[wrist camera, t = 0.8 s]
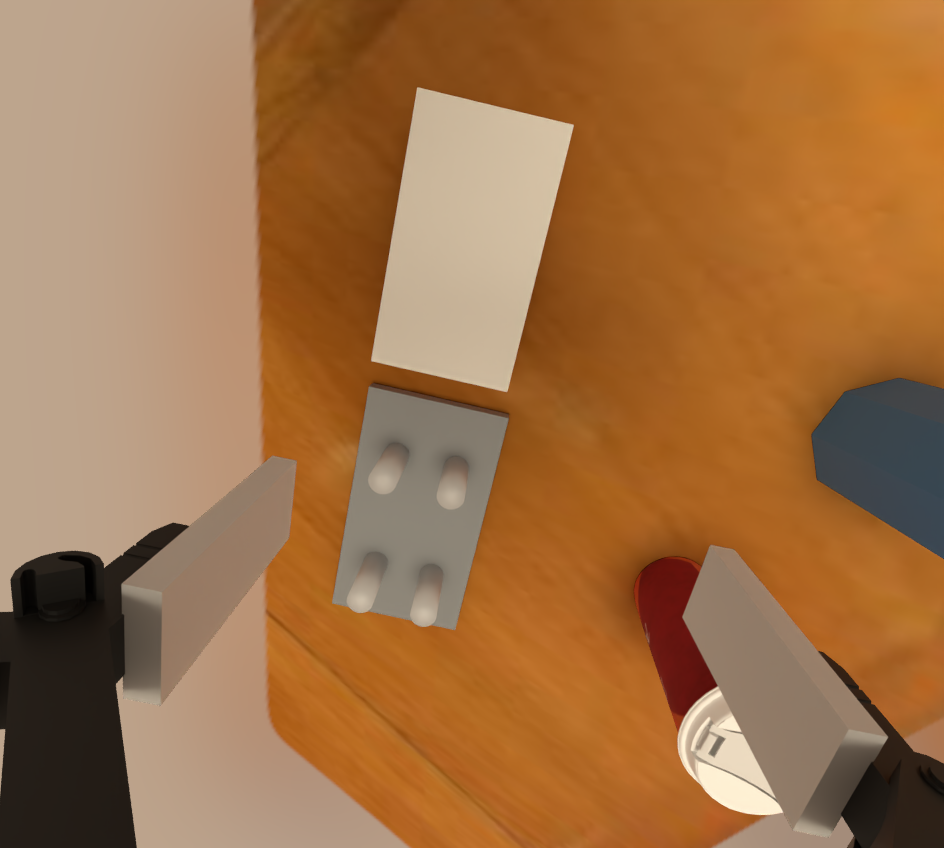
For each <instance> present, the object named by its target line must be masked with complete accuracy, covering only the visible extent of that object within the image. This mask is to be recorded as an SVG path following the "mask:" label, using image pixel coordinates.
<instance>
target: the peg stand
mask: <svg viewBox="0 0 944 848" xmlns="http://www.w3.org/2000/svg"><path fill="white" fill-rule="evenodd" d="M508 420H509V415H508V414H506V413H502V412H498V411H493V410H489V409H485V408H480V407H476V406H471V405H467V404H463V403H458V402H454V401H450V400H445V399H441V398H436V397H432V396H428V395H423V394H419V393H414V392H410V391H406V390H401V389H397V388H393V387H388V386H384V385H379V384H375V383H373V384H371V385H370V386H369V390H368V396H367V402H366V408H365V414H364V419H363V425H362V431H361V437H360V443H359V449H358V455H357V460H356V466H355V472H354V478H353V484H352V490H351V496H350V501H349V507H348V513H347V519H346V525H345V531H344V537H343V542H342V548H341V554H340V560H339V566H338V572H337V578H336V584H335V589H334V595H333V601H332V603H333V604H338V605H343V606H347V607H349V608H350V609H351V610H353V611H355V612H358V613H364V612H367V611H370V612H375V613H379V614H384V615H388V616H393V617H398V618H402V619H407V620H411V621H413V622H414V623H415V624H416V625H418V626H422V627H426V626H430V625H434V626H439V627H443V628H448V629H453V630H455V628H456V624H457V620H458V616H459V613H460V609H461V605H462V601H463V597H464V593H465V589H466V585H467V581H468V577H469V573H470V569H471V565H472V561H473V557H474V554H475V550H476V546H477V542H478V538H479V534H480V530H481V526H482V522H483V518H484V514H485V510H486V506H487V502H488V499H489V495H490V491H491V487H492V483H493V479H494V475H495V471H496V467H497V463H498V459H499V455H500V451H501V447H502V443H503V440H504V436H505V432H506V428H507V424H508Z"/></svg>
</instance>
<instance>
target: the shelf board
mask: <svg viewBox="0 0 944 848" xmlns="http://www.w3.org/2000/svg"><path fill="white" fill-rule="evenodd" d="M573 127H574V125H572V124H568V123H564V122H559V121H555V120H551V119H547V118H543V117H539V116H535V115H530V114H526V113H522V112H518V111H514V110H510V109H506V108H501V107H497V106H493V105H489V104H485V103H481V102H476V101H472V100H468V99H464V98H460V97H456V96H452V95H447V94H443V93H439V92H435V91H431V90H427V89H423V88H418V87H417V92H416V98H415V104H414V110H413V116H412V122H411V128H410V134H409V140H408V145H407V151H406V157H405V163H404V169H403V175H402V181H401V187H400V193H399V199H398V205H397V210H396V216H395V222H394V228H393V234H392V240H391V246H390V252H389V258H388V264H387V270H386V275H385V281H384V287H383V293H382V299H381V305H380V311H379V317H378V323H377V329H376V335H375V340H374V346H373V352H372V358H371V361H373V362H378V363H382V364H386V365H391V366H395V367H399V368H404V369H408V370H413V371H417V372H421V373H426V374H430V375H434V376H439V377H443V378H448V379H452V380H456V381H461V382H465V383H469V384H474V385H478V386H482V387H487V388H491V389H496V390H500V391H504V392H507V391H508V387H509V383H510V379H511V375H512V371H513V367H514V363H515V359H516V355H517V351H518V347H519V343H520V339H521V335H522V331H523V327H524V323H525V319H526V315H527V311H528V307H529V303H530V299H531V295H532V291H533V287H534V283H535V279H536V275H537V271H538V267H539V263H540V259H541V255H542V251H543V247H544V243H545V239H546V235H547V231H548V227H549V223H550V219H551V215H552V211H553V207H554V203H555V199H556V195H557V191H558V187H559V183H560V179H561V175H562V171H563V167H564V163H565V159H566V155H567V151H568V147H569V143H570V139H571V135H572V131H573Z"/></svg>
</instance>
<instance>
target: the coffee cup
mask: <svg viewBox="0 0 944 848" xmlns="http://www.w3.org/2000/svg"><path fill="white" fill-rule="evenodd" d="M701 568H702V567H701V566H700V565H698V564H697V563H696V562H694V561H692V560H690V559H687V558H683V557H667V558H662V559H659V560H657V561H655V562H653V563H651V564H649V565H648V566H647V567H646V568H645V569H644V570H643V571H642V572H641V573H640V574H639V576H638V578H637V580H636V582H635V586H634V598H635V602H636V606H637V610H638V613H639V616H640V619H641V622H642V626H643V629H644V632H645V635H646V638H647V641H648V644H649V647H650V650H651V653H652V656H653V659H654V662H655V665H656V668H657V671H658V674H659V677H660V680H661V683H662V686H663V689H664V692H665V695H666V698H667V701H668V704H669V707H670V710H671V713H672V716H673V719H674V722H675V725H676V728H677V731H678V751H679V756H680V758H681V761H682V763H683V765H684V767H685V768H686V770H687V771H688V773H689V774H690V775H691V776H692V777H693V778H694V779H695V780H696V781H697V782H698V783H700V784H701V786H702V787H703V789H704V790H705V791H706V792H707V793H708V794H709V795H710V796H711V797H712V798H713V799H715V800H716V801H718V802H719V803H720V804H722V805H724V806H726V807H728V808H730V809H733V810H736V811H738V812H743V813H747V814H757V815H769V814H777V813H783V811H782V809H781V807H780V805H779V803H778V801H777V799H776V797H775V795H774V794H773V792H772V790H771V788H770V786H769V784H768V782H767V780H766V778H765V776H764V774H763V772H762V770H761V768H760V766H759V765H758V763H757V761H756V759H755V757H754V755H753V753H752V751H751V749H750V747H749V745H748V743H747V741H746V739H745V737H744V736H743V734H742V732H741V730H740V728H739V726H738V724H737V722H736V720H735V718H734V716H733V714H732V712H731V710H730V708H729V707H728V705H727V703H726V701H725V699H724V697H723V695H722V693H721V691H720V689H719V687H718V685H717V683H716V681H715V679H714V678H713V676H712V674H711V672H710V670H709V668H708V666H707V664H706V662H705V660H704V658H703V656H702V654H701V652H700V650H699V649H698V647H697V645H696V643H695V641H694V639H693V637H692V635H691V633H690V631H689V629H688V627H687V625H686V623H685V621H684V620H683V618H682V617H683V614H684V611H685V609H686V606H687V604H688V601H689V599H690V596H691V593H692V591H693V588H694V586H695V583H696V581H697V578H698V575H699V573H700V570H701Z"/></svg>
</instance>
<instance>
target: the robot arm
mask: <svg viewBox="0 0 944 848" xmlns="http://www.w3.org/2000/svg"><path fill="white" fill-rule="evenodd" d="M296 464H297V461H296V460H291V459H286V458H281V457H276V456H272V457H270V458H269V459H268V460H267V461H266V462H265V463H263V464H262V465H261V466H260V467H259V468H257V469H256V470H255V471H254V472H253V473H252V474H250V475H249V476H248V477H247V478H246V479H245V480H243V481H242V482H241V483H240V484H239V485H237V486H236V487H235V488H234V489H233V490H232V491H230V492H229V493H228V494H227V495H226V496H225V497H223V498H222V499H221V500H220V501H219V502H217V503H216V504H215V505H214V506H213V507H211V508H210V509H209V510H208V511H207V512H206V513H204V514H203V515H202V516H201V517H200V518H199V519H197V520H196V521H195V522H194V523H193V524H191V525H190V526H187V525H182V524H176V523H171V524H169V525H166V526H164V527H161V528H159V529H157V530H154V531H152V532H151V533H149V534H148V535H147V536H145V537H144V538H143V539H141V540H140V541H139V542H137V543H136V546H134V545H133V546H132V547H131V548H130V549H128V550H127V551H126V552H124V554H123V556H119V557H118V558H117V559H115V560H114V561H113V562H111V563H110V564H109V565H108V566H106V567H105V568H104V563H103V562H102V561H101V559H100V557H98V556H96V555H94V554H92V553H89V552H81V551H66V552H56V553H52V554H48V555H44V556H40V557H38V558H36V559H34V560H31V561H29V562H26V563H25V564H24V565H22V566H21V567H20V568H18V569H17V570H16V571H15V572H14V574H13V576H12V578H11V591H12V601H13V612H0V729H5V743H4V755H3V768H2V781H1V794H0V848H137V847H136V838H135V831H134V823H133V815H132V808H131V800H130V792H129V784H128V776H127V769H126V761H125V753H124V746H123V738H122V730H121V723H120V715H119V707H118V699H117V691H116V683H117V682H118V681H119V680H120V679H121V678H122V677H123V698H124V699H129V700H134V701H139V702H144V703H149V704H154V705H159V706H161V705H162V703H163V702H164V701H165V699H166V698H167V697H168V695H169V694H170V693H171V692H172V690H173V689H174V688H175V686H176V685H177V684H178V682H179V681H180V680H181V679H182V677H183V676H184V675H185V673H186V672H187V671H188V669H189V668H190V667H191V665H192V664H193V663H194V662H195V660H196V659H197V657H198V656H199V655H200V654H201V652H202V651H203V650H204V648H205V647H206V646H207V645H208V643H209V642H210V641H211V639H212V638H213V637H214V635H215V634H216V633H217V631H218V630H219V629H220V628H221V626H222V625H223V624H224V622H225V621H226V620H227V618H228V617H229V616H230V615H231V613H232V612H233V610H234V609H235V608H236V607H237V605H238V604H239V603H240V601H241V600H242V599H243V597H244V596H245V595H246V594H247V592H248V591H249V590H250V588H251V587H252V586H253V584H254V583H255V582H256V581H257V579H258V578H259V577H260V575H261V574H262V573H263V571H264V570H265V569H266V567H267V566H268V565H269V564H270V562H271V561H272V560H273V558H274V557H275V556H276V554H277V553H278V552H279V550H280V549H281V548H282V547H283V545H284V544H285V543H286V541H287V540H288V539H289V534H290V524H291V514H292V504H293V494H294V484H295V474H296ZM682 618H683V620H684V621H685V623H686V625H687V627H688V629H689V631H690V633H691V635H692V637H693V639H694V641H695V643H696V645H697V647H698V649H699V650H700V652H701V654H702V656H703V658H704V660H705V662H706V664H707V666H708V668H709V670H710V672H711V674H712V676H713V678H714V679H715V681H716V683H717V685H718V687H719V689H720V691H721V693H722V695H723V697H724V699H725V701H726V703H727V705H728V707H729V708H730V710H731V712H732V714H733V716H734V718H735V720H736V722H737V724H738V726H739V728H740V730H741V732H742V734H743V736H744V737H745V739H746V741H747V743H748V745H749V747H750V749H751V751H752V753H753V755H754V757H755V759H756V761H757V763H758V765H759V766H760V768H761V770H762V772H763V774H764V776H765V778H766V780H767V782H768V784H769V786H770V788H771V790H772V792H773V794H774V795H775V797H776V799H777V801H778V803H779V805H780V807H781V809H782V811H783V813H784V815H785V817H786V819H787V821H788V822H789V824H790V826H791V828H792V830H793V831H798V832H803V833H808V834H813V835H818V836H823V837H828V838H829V837H830V835H831V833H832V831H833V830H834V828H835V827H836V825H837V823H838V821H839V820H840V818H841V816H842V817H843V818H844V820H845V822H846V823H847V825H848V826H849V828H850V830H851V831H852V833H853V835H854V837H853V839H852V840H851V842H850V844H849V845H848V847H847V848H944V764H943V763H941V762H939V761H937V760H935V759H933V758H931V757H929V756H927V755H923V754H920V753H916V752H914V751H913V750H912V749H911V748H910V746H909V745H908V744H907V743H906V742H905V740H904V739H903V738H902V737H901V736H900V734H899V733H898V732H897V731H896V730H895V729H894V727H893V726H892V725H891V724H890V723H889V722H888V720H887V719H886V718H885V717H884V716H883V714H882V713H881V712H880V711H879V710H878V709H877V707H876V706H875V705H872V704H871V700H870V699H869V698H868V697H867V696H866V694H865V693H864V692H863V691H862V690H859V686H858V685H857V684H856V683H855V682H854V680H853V679H852V678H851V677H850V676H849V674H848V673H847V672H846V671H845V670H844V669H843V668H842V667H841V666H840V665H838V664H837V663H836V662H835V661H833V660H832V659H831V658H830V657H828V656H827V655H826V654H825V653H823V652H820V651H817V650H816V649H815V647H814V646H813V645H812V644H811V642H810V641H809V640H808V639H807V638H806V636H805V635H804V634H803V633H802V631H801V630H800V629H799V628H798V627H797V625H796V624H795V623H794V622H793V621H792V619H791V618H790V617H789V616H788V614H787V613H786V612H785V611H784V610H783V608H782V607H781V606H780V605H779V603H778V602H777V601H776V600H775V599H774V597H773V596H772V595H771V594H770V592H769V591H768V590H767V589H766V588H765V586H764V585H763V584H762V583H761V582H760V580H759V579H758V578H757V577H756V575H755V574H754V573H753V572H752V571H751V569H750V568H749V567H748V566H747V564H746V563H745V562H744V561H743V560H742V558H741V557H740V556H739V555H738V554H737V552H736V551H735V550H734V549H729V548H724V547H719V546H714V545H710V547H709V550H708V552H707V555H706V557H705V560H704V563H703V565H702V568H701V570H700V573H699V575H698V578H697V581H696V583H695V586H694V588H693V591H692V593H691V596H690V599H689V601H688V604H687V606H686V609H685V611H684V614H683V617H682Z"/></svg>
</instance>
